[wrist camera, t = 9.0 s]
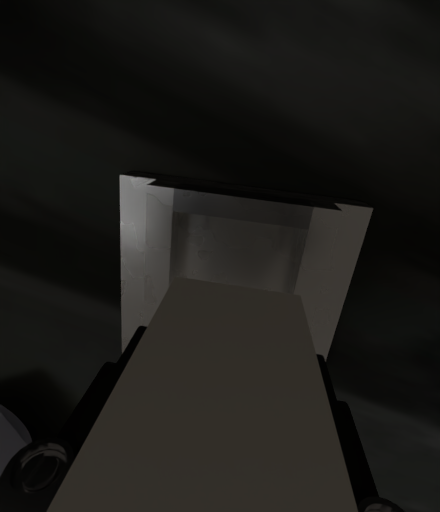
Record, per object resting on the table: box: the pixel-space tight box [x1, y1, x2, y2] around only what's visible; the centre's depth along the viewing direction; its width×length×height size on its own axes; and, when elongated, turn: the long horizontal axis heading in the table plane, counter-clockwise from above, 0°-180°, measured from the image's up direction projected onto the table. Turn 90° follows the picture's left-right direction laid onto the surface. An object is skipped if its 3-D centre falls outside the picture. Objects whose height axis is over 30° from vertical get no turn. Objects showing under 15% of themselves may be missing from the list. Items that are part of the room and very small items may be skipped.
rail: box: [120, 171, 373, 362], centre depth 20 cm, size 12×26×3 cm, turn 174°
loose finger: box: [46, 276, 358, 512], centre depth 8 cm, size 4×6×10 cm
